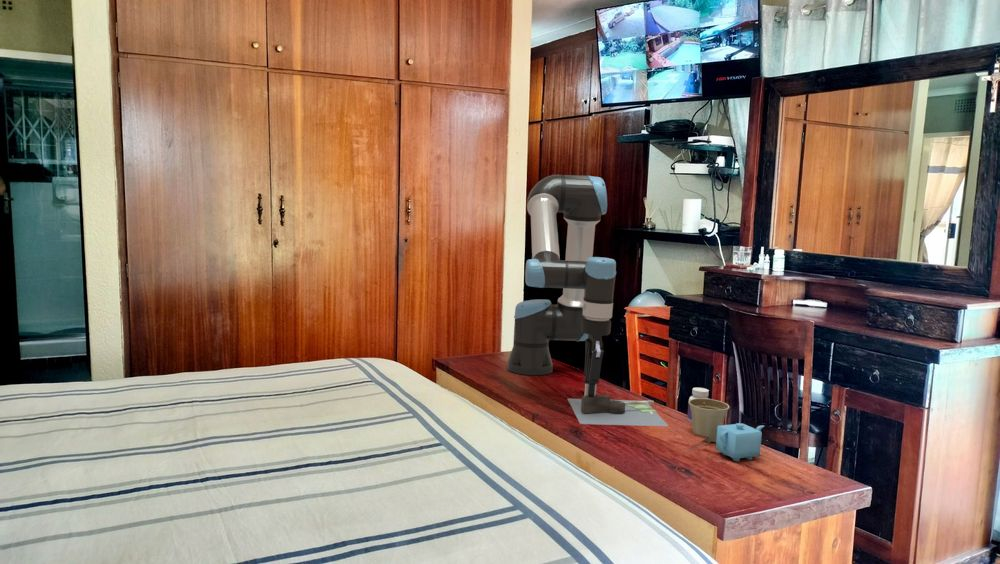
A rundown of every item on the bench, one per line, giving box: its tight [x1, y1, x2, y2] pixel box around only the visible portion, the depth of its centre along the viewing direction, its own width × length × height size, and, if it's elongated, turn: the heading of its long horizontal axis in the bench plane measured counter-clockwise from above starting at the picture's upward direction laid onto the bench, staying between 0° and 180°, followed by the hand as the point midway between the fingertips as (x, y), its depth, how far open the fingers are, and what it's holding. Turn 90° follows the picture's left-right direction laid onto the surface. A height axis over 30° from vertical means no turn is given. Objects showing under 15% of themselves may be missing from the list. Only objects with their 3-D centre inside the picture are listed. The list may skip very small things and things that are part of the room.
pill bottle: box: [686, 387, 710, 424], centre depth 171 cm, size 5×5×10 cm
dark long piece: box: [581, 394, 655, 413], centre depth 177 cm, size 21×5×4 cm, turn 108°
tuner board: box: [567, 398, 670, 427], centre depth 177 cm, size 22×22×2 cm
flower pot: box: [688, 398, 730, 443], centre depth 163 cm, size 9×9×9 cm
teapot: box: [715, 422, 765, 462], centre depth 152 cm, size 12×6×8 cm, turn 111°
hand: (588, 406), depth 176 cm, fingers closed
